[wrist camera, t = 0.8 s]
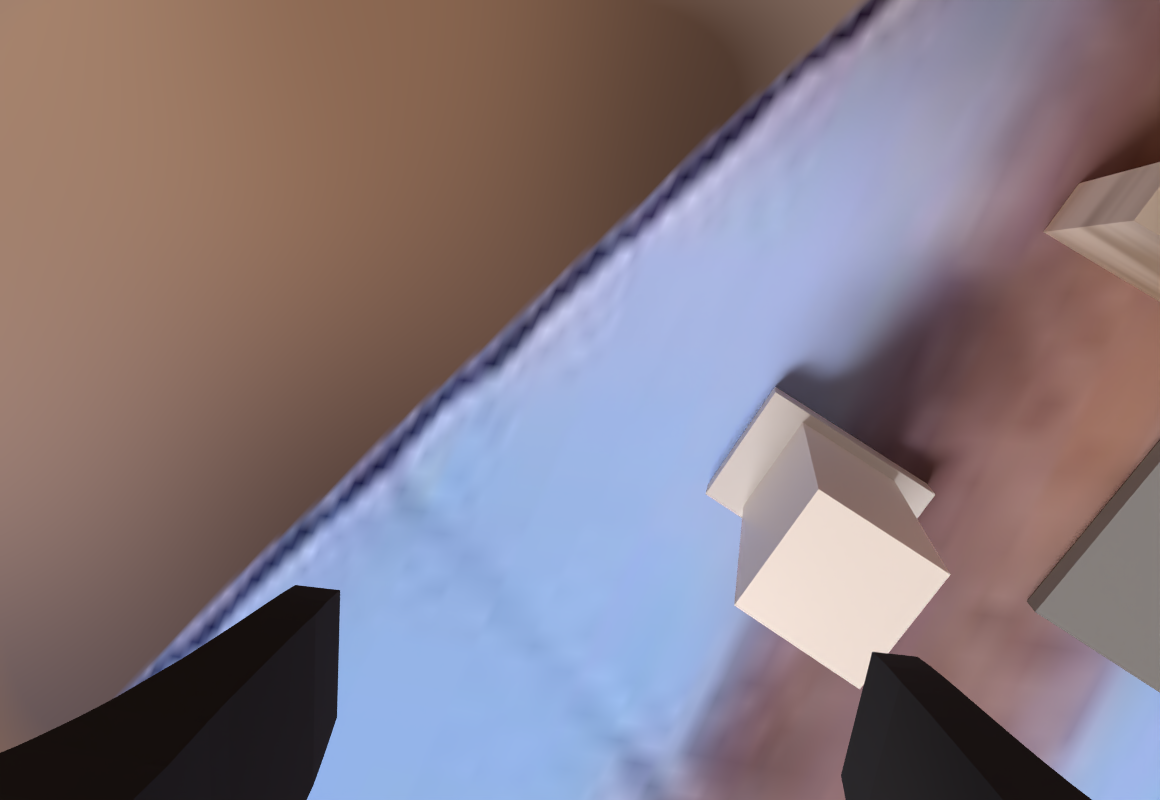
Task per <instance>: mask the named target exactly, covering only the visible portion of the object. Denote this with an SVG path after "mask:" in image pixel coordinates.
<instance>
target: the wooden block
mask: <svg viewBox="0 0 1160 800" xmlns="http://www.w3.org/2000/svg"><path fill="white" fill-rule="evenodd" d="M1044 233H1046V234H1047V235H1049V236H1051V237H1052V238H1054V239H1056V240H1057V241H1059V242H1061V243H1062V244H1064V245H1066V246H1067V247H1069V248H1071V249H1072V250H1074V251H1076V252H1077V253H1079V254H1081V255H1082V256H1084V257H1086V258H1087V259H1089V260H1091V261H1092V262H1094V263H1096V264H1097V265H1099V266H1101V267H1102V268H1104V269H1106V270H1107V271H1109V272H1111V273H1112V274H1114V275H1116V276H1117V277H1119V278H1121V279H1122V280H1124V281H1126V282H1127V283H1129V284H1131V285H1132V286H1134V287H1136V288H1137V289H1139V290H1141V291H1142V292H1144V293H1146V294H1147V295H1149V296H1151V297H1152V298H1154V299H1156V300H1157V301H1159V302H1160V162H1158V163H1154V164H1150V165H1146V166H1143V167H1139V168H1135V169H1131V170H1127V171H1124V172H1120V173H1116V174H1112V175H1109V176H1105V177H1101V178H1097V179H1094V180H1090V181H1086V182H1082V183H1079V184H1078V185H1077V187H1076V188H1075V190H1074V191H1073V192H1072V194H1071V195H1070V196H1069V198H1068V199H1067V200H1066V202H1065V203H1064V204H1063V206H1062V207H1061V209H1060V210H1059V211H1058V213H1057V214H1056V215H1055V217H1054V218H1053V219H1052V221H1051V222H1050V224H1049V225H1048V226H1047V228H1046V229H1045V230H1044Z"/></svg>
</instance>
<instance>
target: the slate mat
mask: <svg viewBox="0 0 1160 800" xmlns="http://www.w3.org/2000/svg"><path fill="white" fill-rule="evenodd" d="M1027 602H1028V603H1029V605H1030V606H1031V607H1032V609H1033V610H1034V611H1035V612H1036V613H1038V614H1039V615H1041V616H1042V617H1044V618H1045V619H1047V620H1048V621H1050V622H1051V623H1053V624H1055V625H1056V626H1058V627H1059V628H1061V629H1062V630H1064V631H1065V632H1067V633H1068V634H1070V635H1072V636H1073V637H1075V638H1076V639H1078V640H1079V641H1081V642H1082V643H1084V644H1086V645H1087V646H1089V647H1090V648H1092V649H1093V650H1095V651H1096V652H1098V653H1099V654H1101V655H1103V656H1104V657H1106V658H1107V659H1109V660H1110V661H1112V662H1113V663H1115V664H1116V665H1118V666H1120V667H1121V668H1123V669H1124V670H1126V671H1127V672H1129V673H1130V674H1132V675H1133V676H1135V677H1137V678H1138V679H1140V680H1141V681H1143V682H1144V683H1146V684H1147V685H1149V686H1150V687H1152V688H1154V689H1155V690H1157V691H1158V692H1160V441H1159V442H1158V443H1157V444H1156V445H1155V447H1154V448H1153V449H1152V450H1151V452H1150V453H1149V454H1148V455H1147V456H1146V458H1145V459H1144V460H1143V461H1142V462H1141V464H1140V465H1139V466H1138V467H1137V468H1136V470H1135V471H1134V472H1133V473H1132V475H1131V476H1130V477H1129V478H1128V479H1127V481H1126V482H1125V483H1124V484H1123V485H1122V487H1121V488H1120V489H1119V490H1118V491H1117V493H1116V494H1115V495H1114V496H1113V498H1112V499H1111V500H1110V501H1109V502H1108V504H1107V505H1106V506H1105V507H1104V508H1103V510H1102V511H1101V512H1100V513H1099V515H1098V516H1097V517H1096V518H1095V519H1094V521H1093V522H1092V523H1091V524H1090V525H1089V527H1088V528H1087V529H1086V530H1085V531H1084V533H1083V534H1082V535H1081V536H1080V538H1079V539H1078V540H1077V541H1076V542H1075V544H1074V545H1073V546H1072V547H1071V548H1070V550H1069V551H1068V552H1067V553H1066V554H1065V556H1064V557H1063V558H1062V559H1061V561H1060V562H1059V563H1058V564H1057V565H1056V567H1055V568H1054V569H1053V570H1052V571H1051V573H1050V574H1049V575H1048V576H1047V578H1046V579H1045V580H1044V581H1043V582H1042V584H1041V585H1040V586H1039V587H1038V588H1037V590H1036V591H1035V592H1034V593H1033V594H1032V596H1031V597H1030V598H1029V599H1028V601H1027Z"/></svg>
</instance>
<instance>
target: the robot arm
mask: <svg viewBox="0 0 1160 800" xmlns="http://www.w3.org/2000/svg"><path fill="white" fill-rule="evenodd" d="M339 614H340V590H333V589H324V588H316V587H307V586H298V585H295V586H293V587H291V588H290V589H288V590H286V591H285V592H283V593H282V594H280V595H279V596H277V597H276V598H274V599H273V600H271V601H270V602H268V603H267V604H265V605H264V606H262V607H261V608H259V609H258V610H256V611H255V612H253V613H252V614H250V615H249V616H247V617H246V618H244V619H243V620H241V621H240V622H238V623H237V624H235V625H234V626H232V627H231V628H229V629H228V630H226V631H224V632H223V633H221V634H220V635H218V636H217V637H215V638H214V639H212V640H211V641H209V642H208V643H206V644H204V645H203V646H201V647H200V648H198V649H197V650H195V651H194V652H192V653H191V654H189V655H187V656H186V657H184V658H183V659H181V660H179V661H177V662H176V663H174V664H172V665H171V666H169V667H167V668H165V669H164V670H162V671H160V672H159V673H157V674H155V675H153V676H152V677H150V678H148V679H147V680H145V681H143V682H141V683H140V684H138V685H136V686H135V687H133V688H131V689H129V690H128V691H126V692H124V693H123V694H121V695H119V696H118V697H116V698H114V699H112V700H110V701H108V702H106V703H105V704H103V705H101V706H99V707H97V708H95V709H93V710H91V711H89V712H87V713H86V714H83V715H81V716H79V717H78V718H75V719H73V720H71V721H69V722H67V723H65V724H63V725H61V726H59V727H57V728H55V729H52V730H50V731H48V732H46V733H44V734H42V735H40V736H38V737H36V738H34V739H31V740H29V741H27V742H25V743H22V744H20V745H18V746H16V747H14V748H11V749H9V750H6V751H4V752H1V753H0V800H307V798H308V795H309V793H310V791H311V789H312V787H313V785H314V782H315V779H316V776H317V773H318V771H319V768H320V765H321V762H322V760H323V757H324V754H325V751H326V748H327V745H328V742H329V739H330V736H331V733H332V730H333V727H334V724H335V721H336V718H337V693H338V653H339ZM841 777H842V782H843V788H844V793H845V798H846V800H1091V799H1090V798H1089V797H1087V796H1086V795H1085V794H1084V793H1082V792H1081V791H1080V790H1078V789H1077V788H1076V787H1074V786H1073V785H1072V784H1071V783H1069V782H1068V781H1067V780H1066V779H1064V778H1063V777H1062V776H1061V775H1059V774H1058V773H1057V772H1056V771H1054V770H1053V769H1052V768H1051V767H1049V766H1048V765H1047V764H1046V763H1044V762H1043V761H1042V760H1041V759H1040V758H1038V757H1037V756H1036V755H1035V754H1034V753H1032V752H1031V751H1030V750H1029V749H1028V748H1026V747H1025V746H1024V745H1023V744H1022V743H1020V742H1019V741H1018V740H1017V739H1016V738H1014V737H1013V736H1012V735H1011V734H1010V733H1009V732H1007V731H1006V730H1005V729H1004V728H1003V727H1002V726H1000V725H999V724H998V723H997V722H996V721H994V720H993V719H992V718H991V717H990V716H989V715H987V714H986V713H985V712H984V711H983V710H982V709H981V708H979V707H978V706H977V705H976V704H975V703H974V702H972V701H971V700H970V699H969V698H968V697H967V696H965V695H964V694H963V693H962V692H961V691H960V690H958V689H957V688H956V687H955V686H954V685H952V684H951V683H950V682H949V681H948V680H947V679H945V678H944V677H943V676H942V675H940V674H939V673H938V672H937V671H936V670H934V669H933V668H932V667H930V666H929V665H928V664H926V663H925V662H924V661H922V660H921V659H920V658H918V657H914V656H905V655H897V654H888V653H879V652H872V655H871V658H870V662H869V666H868V670H867V674H866V678H865V682H864V686H863V690H862V694H861V698H860V702H859V706H858V710H857V714H856V718H855V722H854V726H853V730H852V734H851V738H850V742H849V746H848V750H847V754H846V758H845V762H844V766H843V770H842V774H841Z"/></svg>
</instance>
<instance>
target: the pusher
mask: <svg viewBox="0 0 1160 800" xmlns="http://www.w3.org/2000/svg"><path fill="white" fill-rule="evenodd" d="M706 495H708V496H709V497H711V498H712V499H714V500H716V501H717V502H719V503H720V504H722V505H723V506H725V507H726V508H728V509H729V510H731V511H732V512H734V513H735V514H737V515H738V516H740V517H741V518H742V526H741V537H740V548H739V559H738V570H737V581H736V592H735V603H734V605H735V606H736V607H738V608H739V609H741V610H742V611H744V612H745V613H747V614H748V615H749V616H751V617H752V618H754V619H755V620H757V621H758V622H760V623H761V624H763V625H764V626H766V627H767V628H769V629H770V630H772V631H773V632H775V633H776V634H778V635H779V636H781V637H782V638H784V639H785V640H787V641H788V642H790V643H791V644H793V645H794V646H796V647H797V648H799V649H800V650H802V651H803V652H805V653H806V654H808V655H809V656H811V657H812V658H814V659H815V660H817V661H818V662H820V663H821V664H823V665H824V666H826V667H827V668H829V669H830V670H832V671H833V672H835V673H836V674H838V675H839V676H841V677H842V678H844V679H845V680H847V681H848V682H850V683H851V684H853V685H854V686H856V687H857V688H859V689H860V688H861V687H862V686H863V684H864V682H865V678H866V674H867V670H868V666H869V662H870V658H871V655H872V652H879V653H889V651H890V650H891V649H892V648H893V646H894V645H895V644H896V643H897V641H898V640H899V639H900V638H901V636H902V635H903V634H904V633H905V631H906V630H907V629H908V627H909V626H910V625H911V624H912V622H913V621H914V620H915V619H916V617H917V616H918V615H919V614H920V612H921V611H922V610H923V609H924V607H925V606H926V605H927V603H928V602H929V601H930V600H931V598H932V597H933V596H934V595H935V593H936V592H937V591H938V590H939V588H940V587H941V586H942V585H943V583H944V582H945V581H946V580H947V578H948V577H949V576H950V573H949V571H948V570H947V568H946V566H945V565H944V563H943V561H942V560H941V558H940V556H939V555H938V553H937V551H936V550H935V548H934V546H933V545H932V543H931V541H930V540H929V538H928V536H927V535H926V533H925V531H924V530H923V528H922V526H921V525H920V523H919V521H918V520H917V518H918V517H919V515H920V514H921V513H922V512H923V510H924V509H925V508H926V506H927V505H928V504H929V502H930V501H931V500H932V498H933V497H934V496H935V493H934V492H933V491H932V489H931V488H930V487H929V485H928V484H927V483H925V482H924V481H922V480H920V479H919V478H917V477H916V476H914V475H913V474H911V473H909V472H908V471H906V470H905V469H903V468H902V467H900V466H899V465H897V464H895V463H894V462H892V461H891V460H889V459H888V458H886V457H884V456H883V455H881V454H880V453H878V452H877V451H875V450H874V449H872V448H870V447H869V446H867V445H866V444H864V443H863V442H861V441H859V440H858V439H856V438H855V437H853V436H852V435H850V434H848V433H847V432H845V431H844V430H842V429H841V428H839V427H838V426H836V425H834V424H833V423H831V422H830V421H828V420H827V419H825V418H823V417H822V416H820V415H819V414H817V413H816V412H814V411H813V410H811V409H809V408H808V407H806V406H805V405H803V404H802V403H800V402H798V401H797V400H795V399H794V398H792V397H791V396H789V395H788V394H786V393H784V392H783V391H781V390H780V389H778V388H777V387H774V389H773V390H772V392H771V393H770V395H769V396H768V397H767V399H766V400H765V402H764V403H763V405H762V406H761V408H760V409H759V411H758V412H757V413H756V415H755V416H754V418H753V419H752V421H751V422H750V424H749V425H748V427H747V428H746V429H745V431H744V432H743V434H742V435H741V437H740V438H739V440H738V441H737V443H736V444H735V446H734V447H733V448H732V450H731V451H730V453H729V454H728V456H727V457H726V459H725V460H724V462H723V463H722V464H721V466H720V467H719V469H718V470H717V472H716V473H715V475H714V476H713V478H712V479H711V480H710V482H709V483H708V486H707V490H706Z"/></svg>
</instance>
